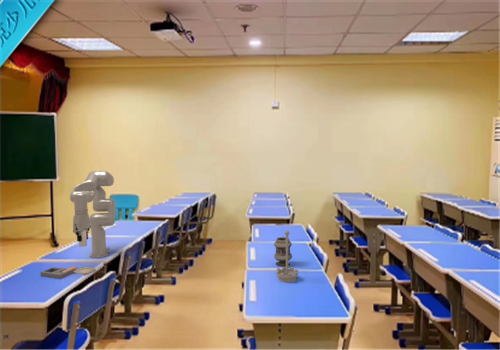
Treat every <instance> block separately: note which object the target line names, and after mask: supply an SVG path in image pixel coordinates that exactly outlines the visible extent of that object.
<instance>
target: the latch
mask: <svg viewBox="0 0 500 350" xmlns="http://www.w3.org/2000/svg"><path fill="white" fill-rule="evenodd" d="M65 269H66V270H64V271H62V272H63V273H64V272H66V271H68V270H73V273H74V271H76V270H78V267H77V266H71V267H69V268H65Z"/></svg>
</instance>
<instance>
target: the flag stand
mask: <svg viewBox="0 0 500 350" xmlns="http://www.w3.org/2000/svg"><path fill="white" fill-rule="evenodd" d="M289 235H290V231H289V230H285V232H284V236H285V237H286V267H281V268H280V267H278V268H277V269H276V270H275V271H276V273H275V274H276V276H277V280H278V281H279V282H281V283H293V282H296V281H297V277H298V275H299V270H298V269H297V268H295V267H292V266H291V267H290V266H288V262H289V261H288V238H289Z"/></svg>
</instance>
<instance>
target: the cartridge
mask: <svg viewBox="0 0 500 350" xmlns="http://www.w3.org/2000/svg"><path fill="white" fill-rule="evenodd" d="M78 233H79V231H78ZM81 236H82V241H81V242H79V241H78V247H81V248H82V247H86V246H88V241H87V240H88V239H87V236H86V228H84V229H83V230H82V231H81Z"/></svg>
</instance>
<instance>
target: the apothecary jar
mask: <svg viewBox="0 0 500 350" xmlns="http://www.w3.org/2000/svg"><path fill="white" fill-rule="evenodd" d="M273 247H275V253H274V254H273V257H274V259H275V260H276V261H277V262H276V263H275V265H276V266H277V267H279V268H280V267H281V268H282V267H286V236H280V237H277V238H276V240H275V241H274V243H273ZM291 247H292V242H291V241H290V238H289V237H288V267H290V265H291V263H290V262H289V261H290V260H292V258H293V254H291Z"/></svg>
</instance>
